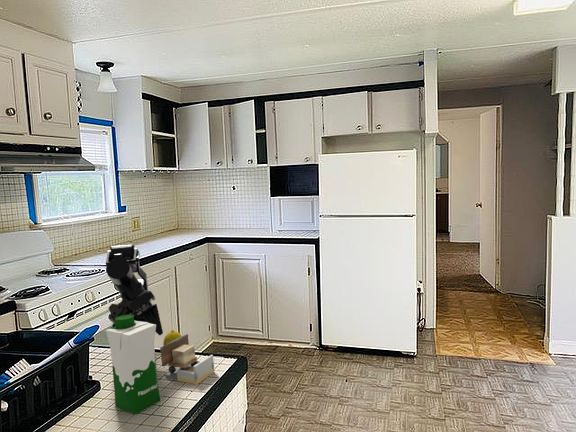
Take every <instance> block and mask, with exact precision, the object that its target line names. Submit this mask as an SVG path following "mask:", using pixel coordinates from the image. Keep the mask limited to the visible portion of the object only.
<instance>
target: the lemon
mask: <svg viewBox="0 0 576 432" xmlns="http://www.w3.org/2000/svg"><path fill="white" fill-rule="evenodd" d="M182 336H183V335H182V334H181V333H180V332H178V330H174V329H172V330H170V331H168V332H167V333H166V334H165V336H164V337H163V346H165V345H166V344H168V343H170V342H172V341H174V340H176V339H178V338H180V337H182Z"/></svg>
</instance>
